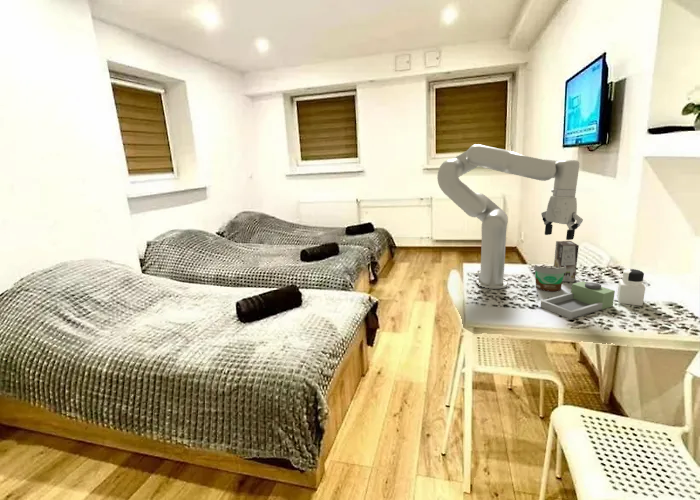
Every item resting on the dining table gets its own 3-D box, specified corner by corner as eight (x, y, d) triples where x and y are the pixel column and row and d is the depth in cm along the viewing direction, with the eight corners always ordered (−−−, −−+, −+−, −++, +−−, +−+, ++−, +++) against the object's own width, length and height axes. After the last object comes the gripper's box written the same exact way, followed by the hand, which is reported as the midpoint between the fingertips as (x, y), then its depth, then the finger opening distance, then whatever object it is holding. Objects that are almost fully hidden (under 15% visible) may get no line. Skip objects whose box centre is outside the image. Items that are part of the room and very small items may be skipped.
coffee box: (575, 281, 161) (579, 245, 157) (559, 281, 162) (562, 245, 158) (568, 275, 170) (571, 240, 166) (552, 274, 171) (555, 240, 167)
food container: (536, 292, 151) (538, 269, 149) (531, 287, 157) (533, 264, 155) (569, 293, 149) (572, 269, 147) (563, 287, 155) (566, 264, 153)
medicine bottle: (639, 299, 140) (644, 268, 137) (642, 306, 134) (647, 274, 131) (616, 296, 144) (620, 266, 141) (618, 303, 138) (622, 272, 135)
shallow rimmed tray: (540, 306, 138) (542, 289, 136) (581, 295, 146) (583, 278, 144) (570, 319, 127) (572, 299, 125) (612, 306, 135) (615, 288, 134)
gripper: (538, 191, 149) (533, 233, 153) (578, 196, 134) (571, 242, 138) (551, 190, 152) (546, 231, 156) (592, 195, 136) (585, 240, 141)
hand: (558, 236), depth 147 cm, fingers open, 9 cm apart
